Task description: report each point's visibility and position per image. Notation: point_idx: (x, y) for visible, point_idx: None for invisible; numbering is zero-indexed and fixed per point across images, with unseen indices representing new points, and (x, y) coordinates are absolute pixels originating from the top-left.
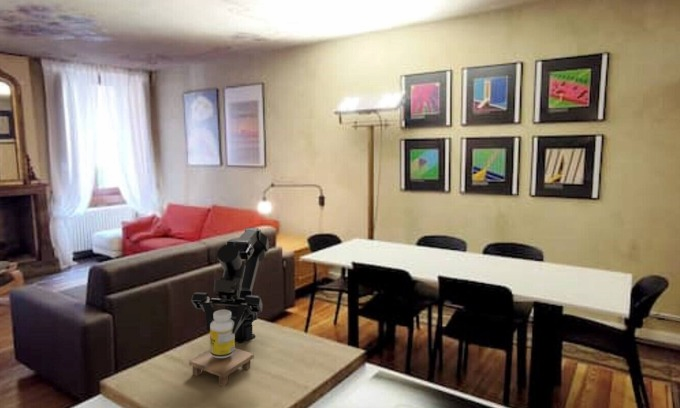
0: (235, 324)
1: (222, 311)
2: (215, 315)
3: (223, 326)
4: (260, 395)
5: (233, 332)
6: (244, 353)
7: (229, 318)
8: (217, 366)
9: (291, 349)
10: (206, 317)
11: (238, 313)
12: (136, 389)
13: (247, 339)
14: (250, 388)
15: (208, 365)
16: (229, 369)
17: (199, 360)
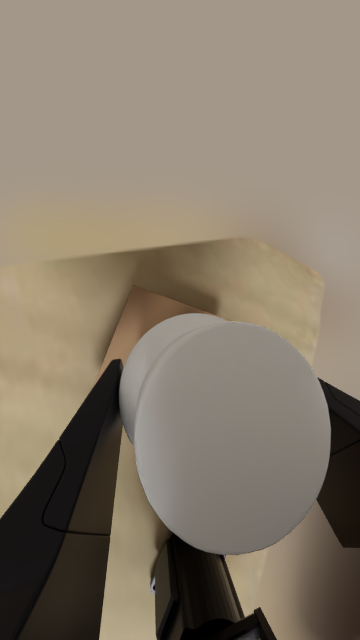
0: (101, 397)
1: (263, 470)
2: (277, 334)
3: (169, 329)
4: (46, 285)
5: (115, 359)
6: None
7: (140, 389)
8: (163, 313)
9: None
10: (328, 385)
11: (47, 535)
12: (278, 266)
13: (165, 546)
14: (77, 306)
15: (186, 313)
16: (126, 305)
17: None
